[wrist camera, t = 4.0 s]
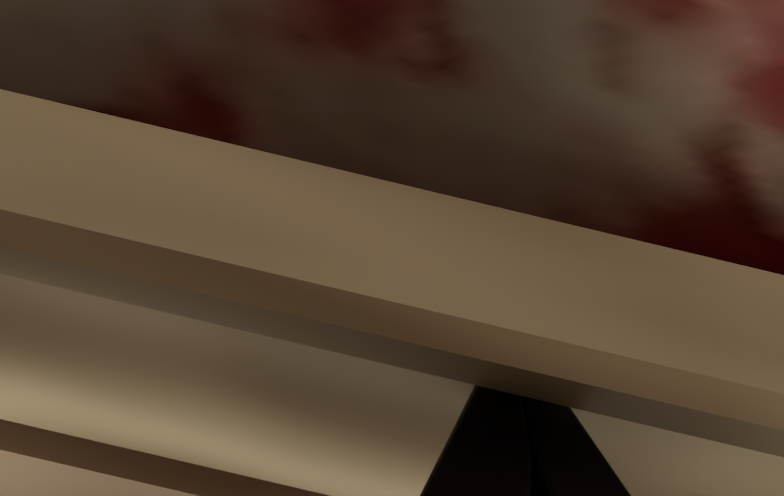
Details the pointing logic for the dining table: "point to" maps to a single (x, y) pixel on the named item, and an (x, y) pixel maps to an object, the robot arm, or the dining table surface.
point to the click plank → (355, 318)
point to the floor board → (110, 470)
